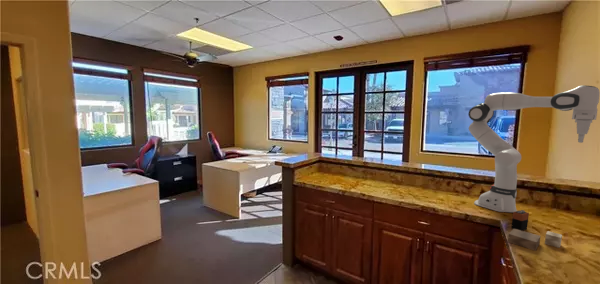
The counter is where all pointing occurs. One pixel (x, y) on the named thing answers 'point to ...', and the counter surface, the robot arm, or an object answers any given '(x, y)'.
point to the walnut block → (524, 239)
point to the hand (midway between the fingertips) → (580, 142)
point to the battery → (520, 220)
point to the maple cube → (553, 239)
